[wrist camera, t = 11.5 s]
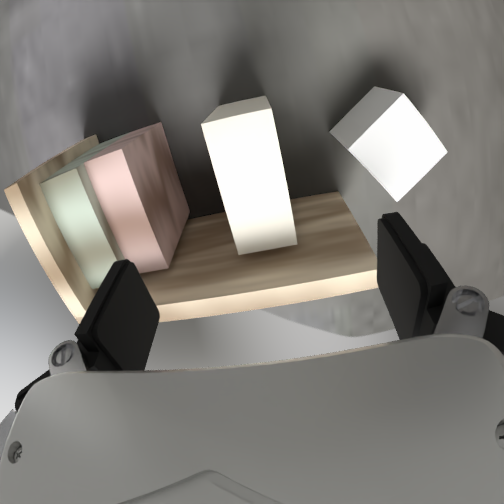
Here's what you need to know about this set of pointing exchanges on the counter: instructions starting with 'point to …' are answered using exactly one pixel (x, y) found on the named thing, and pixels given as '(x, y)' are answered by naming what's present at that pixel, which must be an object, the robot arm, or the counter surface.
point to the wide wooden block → (175, 235)
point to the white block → (250, 174)
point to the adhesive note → (390, 140)
